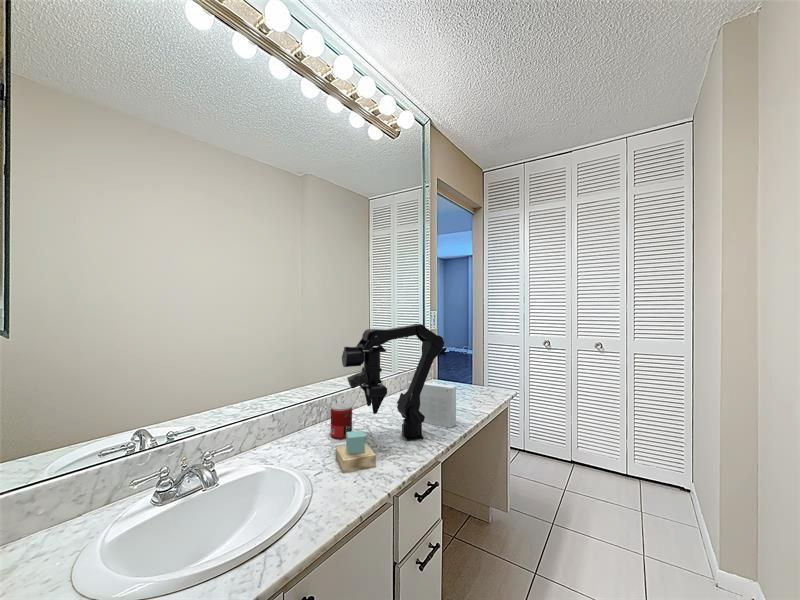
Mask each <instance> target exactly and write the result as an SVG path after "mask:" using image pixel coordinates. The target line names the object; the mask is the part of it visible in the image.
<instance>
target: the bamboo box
mask: <svg viewBox="0 0 800 600" xmlns="http://www.w3.org/2000/svg"><path fill="white" fill-rule="evenodd" d="M334 458H335V461H336V462H337V464H338V466H339V468H340V470H341V472H342V474H346V473H347V474H348V473H351V472H356V471H362V470H367V469H372V468H376V466H377V454H376V453H375V451H373V449H372V448H371V447H370V446H369V444H368V443H367V442H366V441H365V453H360V454H351V455H348V453H347V449H346V445H341V446H336V447H335V457H334Z"/></svg>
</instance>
